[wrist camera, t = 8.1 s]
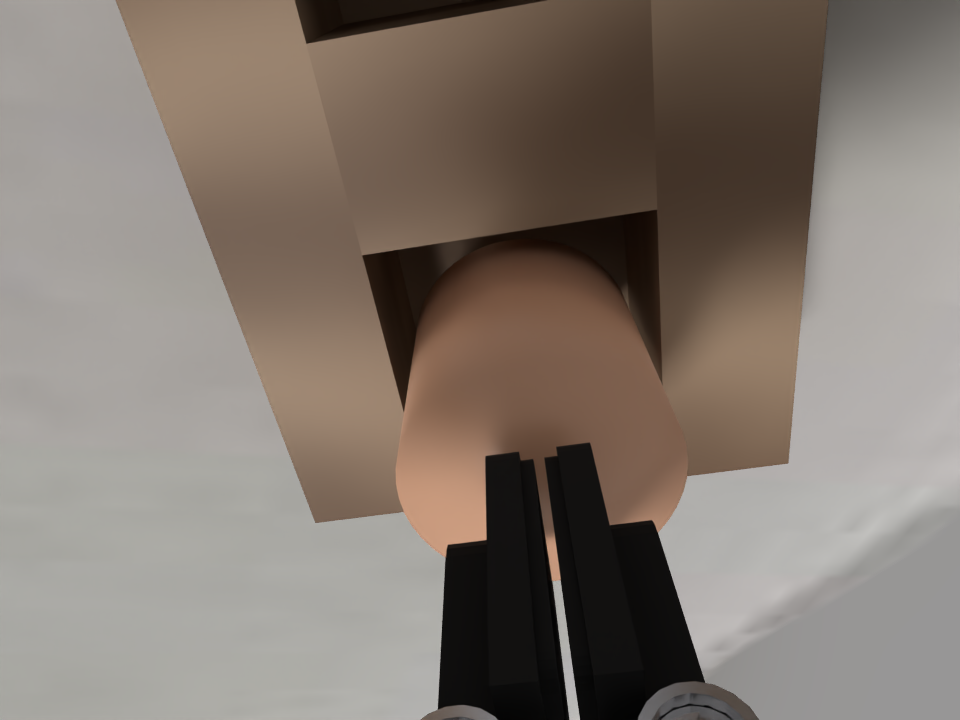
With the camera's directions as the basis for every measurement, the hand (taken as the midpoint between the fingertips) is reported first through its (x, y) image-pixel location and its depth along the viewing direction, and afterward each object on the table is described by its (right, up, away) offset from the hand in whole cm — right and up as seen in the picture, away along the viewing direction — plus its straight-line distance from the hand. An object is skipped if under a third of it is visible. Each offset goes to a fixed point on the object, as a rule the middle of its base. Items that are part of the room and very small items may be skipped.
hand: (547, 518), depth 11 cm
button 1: (0, +3, +5) cm, 6 cm away
